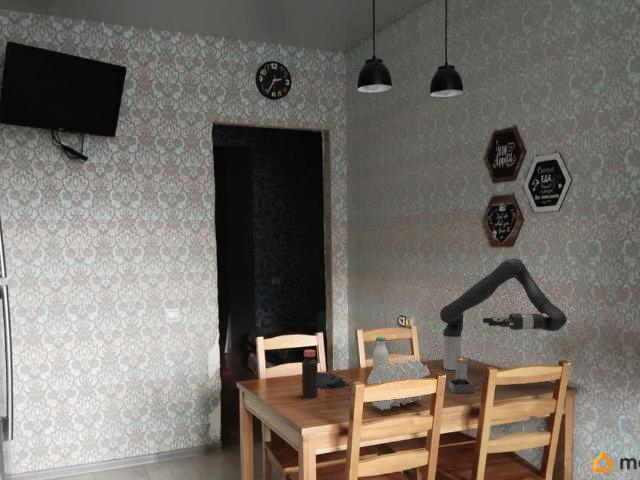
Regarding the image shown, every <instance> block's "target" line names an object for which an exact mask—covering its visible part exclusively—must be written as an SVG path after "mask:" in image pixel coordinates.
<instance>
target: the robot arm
mask: <svg viewBox="0 0 640 480" xmlns="http://www.w3.org/2000/svg"><path fill="white" fill-rule="evenodd" d="M511 279H515V280H517V281H518V282H519V284H520V285H521V286H522V288H523V289H524V291H525V293H526V296H527V298H528V299H529V301H530V303H531V304H532V306H533V307H534V308H535V309H536V310H537V312H539V313H525V312H523V313H522V312H521V313H520V312H519V313H513V312H512V313H510V314H509V315H508V317H506V316H491V317H484V318H482V322H483V324H488V326H490V327H501V328H509V329H510V330H511V331H522V330H523V331H525V330H526V331H527V330H543V331H548V332H556V331H559V330H561V329H562V328H563V327H564V326H565V325H566V324H567V321H568V320H567V316H566V313H564V311H562V310H561V309H560V308H559V307H558V306H556V305H555V304H553V303H552V302H551V301H550V299H549V298H548V297H547V296H546V294H544V292H543V291H542V290H541V288H540V287H539V286H538V284H537V283H536V281H535V280H534V279H533V277H532V276H531V274H530V273H529V270H528V269H527V267H526V266H525V264H524V263H523V261H522V260H521V259H519V258H508V259H505V260H504V261H502V262H501V263H499V265H498V266H497V267H496V268H495V269H494V270H493V271H492V272H490V273H488V275H485V277H483V278H482V279H480V280H479V281H478V282H476V283H475V284H473V285H472V286H471V287H469V288H468V289H467V290H466V291H465V292H463V293H462V294H461V295H459V297H458V298H457V299H454V300H453V301H452V302H450V303H449V304H447V305H445V306H443V308H441V310H440V312H439V317H440V320H441V321H442V322H444V323H445V324H446V327H445V328H444V329H443V331H442V333H443V334H442V339H443V341H442V342H443V343H442V344H443V345H442V346H443V349H442V351H443V354H442V355H443V360H442V361H443V369H445V370H449V371H456V361H455V357H462V333H463V329H464V312H465V311H468V310H470V309H471V308H474V307H476V306H478V305H480V304H481V303H483V302H485V301H486V300H488V299H489V298H490V297H491V296H492V295H494V293H495V292H496V291H497V289H498V288H499V287H500V286H501V285H502V284H504V283H506V282H508V281H509V280H511ZM544 314H545V315H546V316H544Z"/></svg>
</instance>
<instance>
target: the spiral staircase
mask: <svg viewBox="0 0 640 480" xmlns="http://www.w3.org/2000/svg"><path fill="white" fill-rule="evenodd" d="M429 375H430V371H429V368H428V366H427V365H423V363H422V362H421V361H419V359H415V360H412V359H408V358H407V361H405V362H401V361H400V362H399V361H397V362H396V364H394V363H392V362H389V365H388V366H384V367H382V366H378V368H376V369H374V370H373V369H372V370H370V374H369V376H367V379H366V381H367V384H374V383H381V382H387V381H393V380H401V379H412V378H420V379H421V378H424V377H427V376H429ZM421 400H422V399H421V396H419V397H413V398H412V397H411V398H405V399H404V398H403V399H396V400H387V401H379V402H371V403H372V405H373V406H374V408H375V407H376V408H378V409H379V410H381V411H384V410H390V409H391V408H393V407H400V406H401V405H403V406H405V405H406V404H409V403H414V401H421ZM400 404H401V405H400Z"/></svg>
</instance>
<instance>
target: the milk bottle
mask: <svg viewBox="0 0 640 480" xmlns="http://www.w3.org/2000/svg"><path fill="white" fill-rule="evenodd" d="M375 343H376V344H375V347H374V349H373V353H372V370H374V369H376V368H378V366H382V367H384V366H388V365H390V361H389V358H390V357H389V352H388V349H387V346H386V337H384V336H377V337H376V336H375Z"/></svg>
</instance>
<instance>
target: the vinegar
mask: <svg viewBox="0 0 640 480" xmlns="http://www.w3.org/2000/svg"><path fill="white" fill-rule="evenodd" d="M303 356H304V359H303V361H302V362H301V381H302V382H301V383H302V384H301V385H302V386H301V391H302V392H301V393H302V394H301V396H302V397H303V398H304V399H315V398H317V397H318V395H319V388H318V368H319V367H318V361H317V360H316V359H315V357H316V350H314V349H305V350H304V351H303Z"/></svg>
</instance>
